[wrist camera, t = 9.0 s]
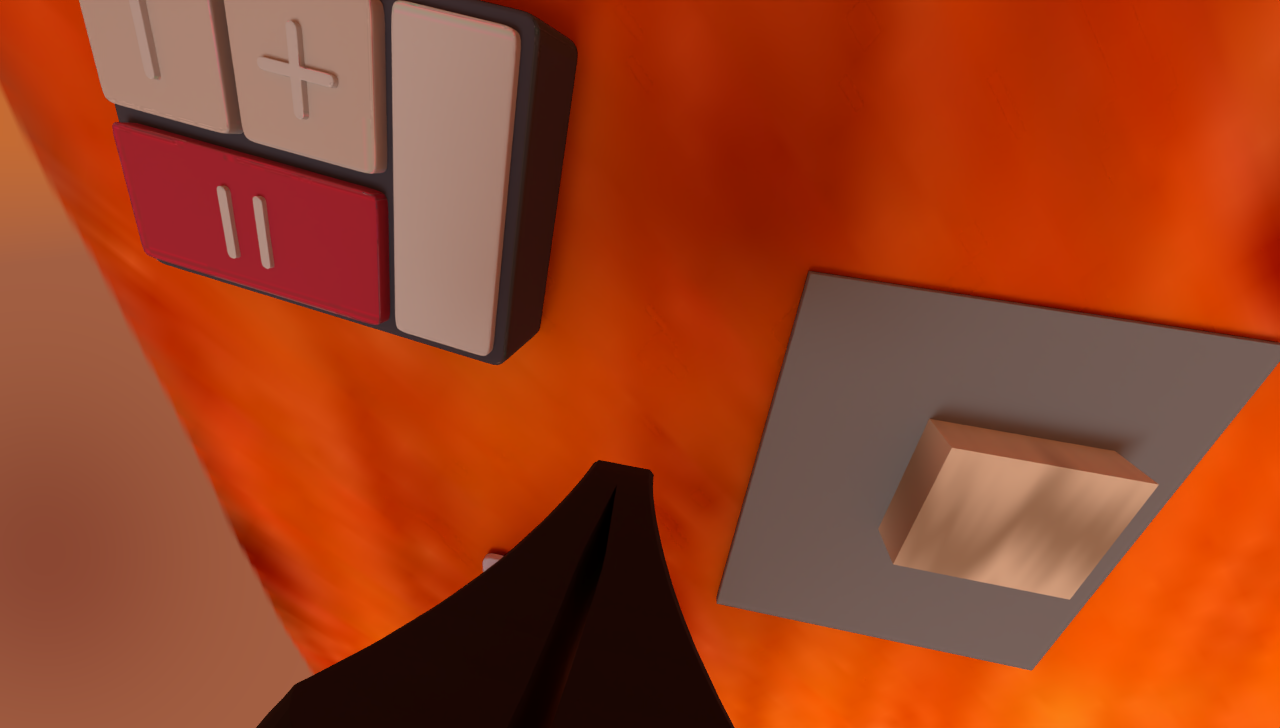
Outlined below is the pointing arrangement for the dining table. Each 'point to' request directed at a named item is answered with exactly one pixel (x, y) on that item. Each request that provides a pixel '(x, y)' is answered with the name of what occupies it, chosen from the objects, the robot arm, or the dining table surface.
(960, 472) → the maple tile
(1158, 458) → the mat
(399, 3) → the calculator
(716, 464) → the dining table surface
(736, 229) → the dining table surface
